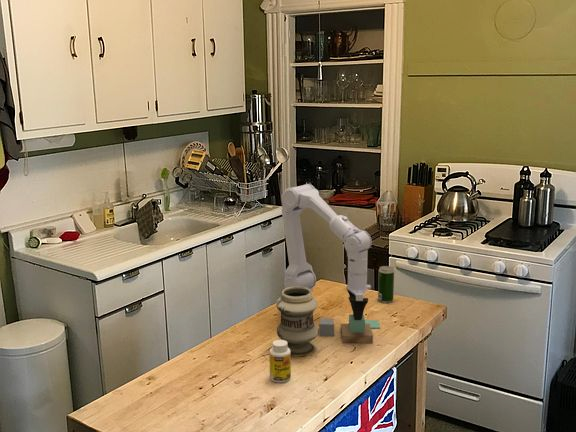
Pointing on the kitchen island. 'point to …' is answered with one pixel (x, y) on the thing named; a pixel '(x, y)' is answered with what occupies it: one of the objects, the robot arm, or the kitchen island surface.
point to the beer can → (386, 284)
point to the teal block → (356, 324)
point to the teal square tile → (373, 324)
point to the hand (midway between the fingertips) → (356, 314)
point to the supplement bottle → (280, 361)
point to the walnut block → (356, 335)
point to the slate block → (326, 327)
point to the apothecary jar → (297, 319)
